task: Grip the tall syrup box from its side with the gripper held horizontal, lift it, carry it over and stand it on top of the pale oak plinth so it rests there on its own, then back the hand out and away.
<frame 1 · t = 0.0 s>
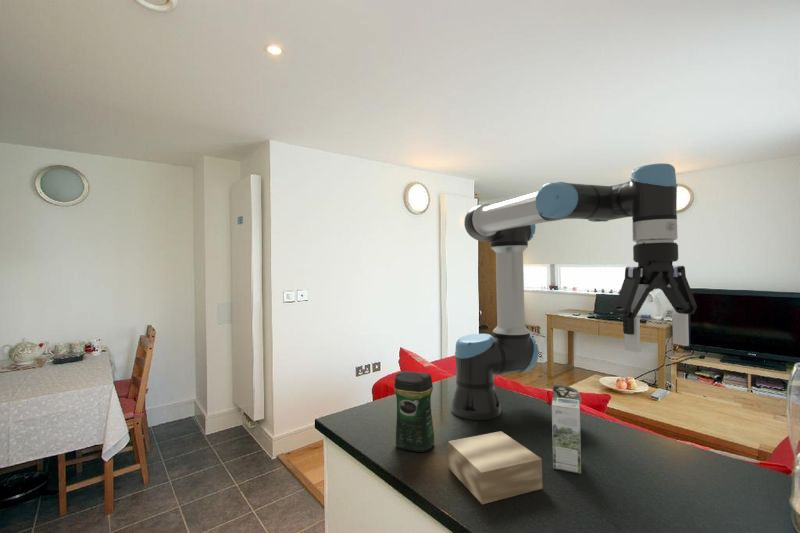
hand: (657, 347, 76), 28 cm above the kitchen island, tool pointing down, fingers open, 13 cm apart
food container: (569, 427, 105), on the kitchen island
syrup box: (567, 466, 84), on the kitchen island
oak plinth: (493, 477, 80), on the kitchen island
coffee jar: (415, 446, 96), on the kitchen island
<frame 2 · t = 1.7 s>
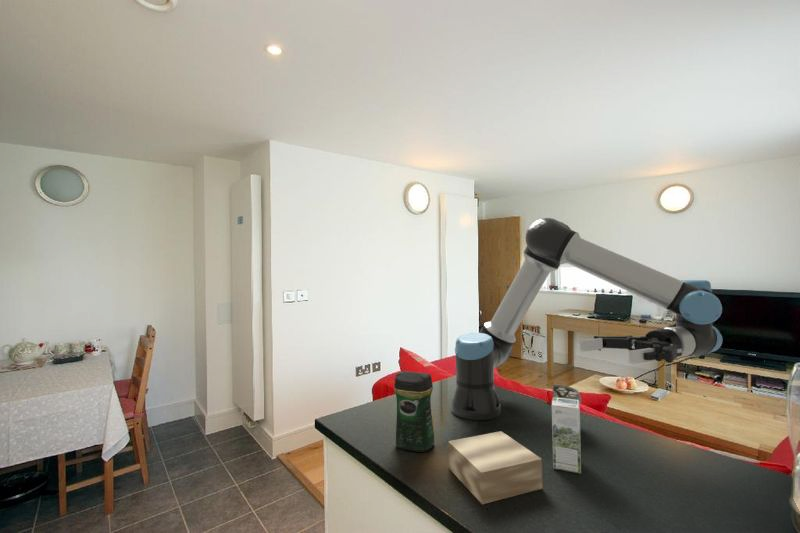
hand: (604, 351, 88), 25 cm above the kitchen island, tool horizontal, fingers open, 13 cm apart
nothing on the kitchen island moved.
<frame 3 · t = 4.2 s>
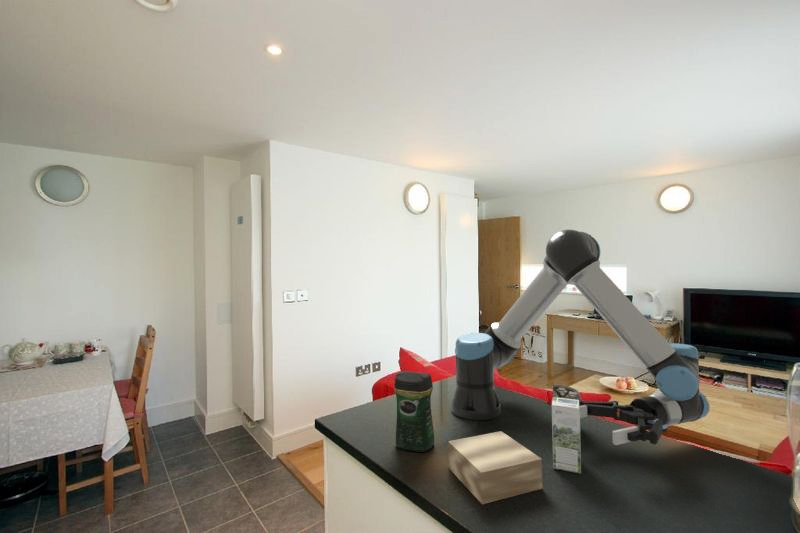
hand: (587, 425, 86), 8 cm above the kitchen island, tool horizontal, fingers open, 13 cm apart
nothing on the kitchen island moved.
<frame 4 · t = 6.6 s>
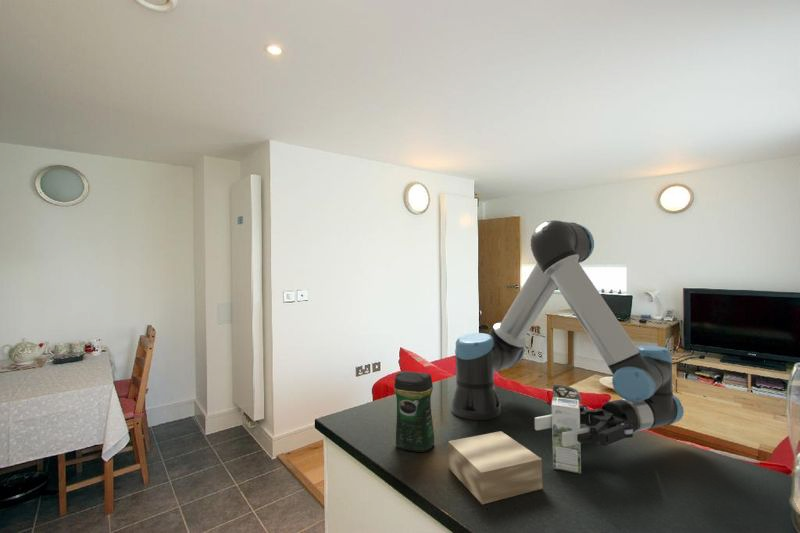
hand: (548, 431, 83), 9 cm above the kitchen island, tool horizontal, fingers closed on syrup box, 8 cm apart
syrup box: (567, 466, 84), on the kitchen island, touching gripper
everything else where it was.
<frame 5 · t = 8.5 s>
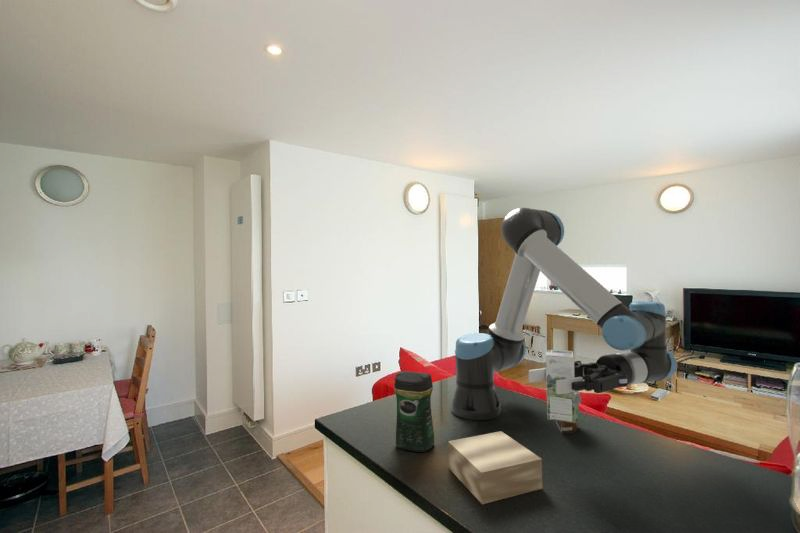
hand: (543, 381, 82), 20 cm above the kitchen island, tool horizontal, fingers closed on syrup box, 8 cm apart
syrup box: (561, 418, 83), point 11 cm above the kitchen island, touching gripper
everything else where it was.
when the fingers open (16 cm above the kitchen island, at t = 10.8 s): syrup box drops 1 cm, resting on oak plinth.
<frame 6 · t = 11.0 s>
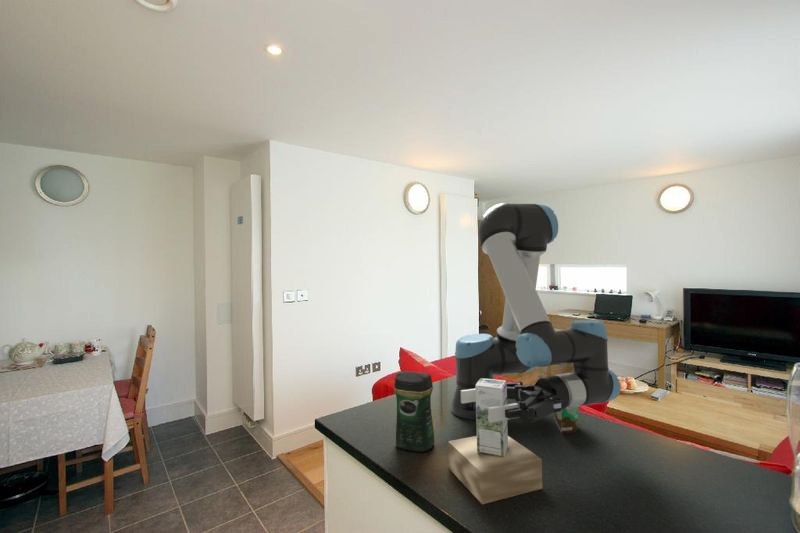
hand: (474, 405, 79), 16 cm above the kitchen island, tool horizontal, fingers open, 10 cm apart
syrup box: (492, 450, 80), point 6 cm above the kitchen island, touching oak plinth
everything else where it was.
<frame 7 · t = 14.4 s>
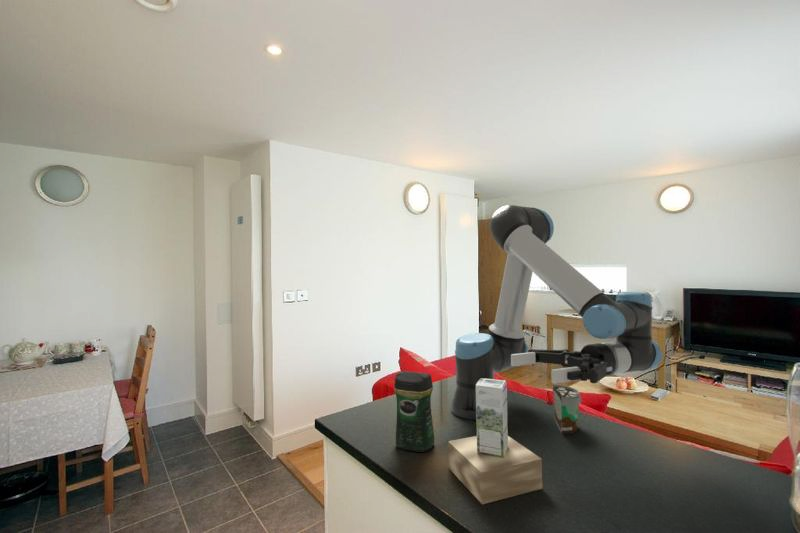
hand: (530, 367, 83), 23 cm above the kitchen island, tool horizontal, fingers open, 13 cm apart
nothing on the kitchen island moved.
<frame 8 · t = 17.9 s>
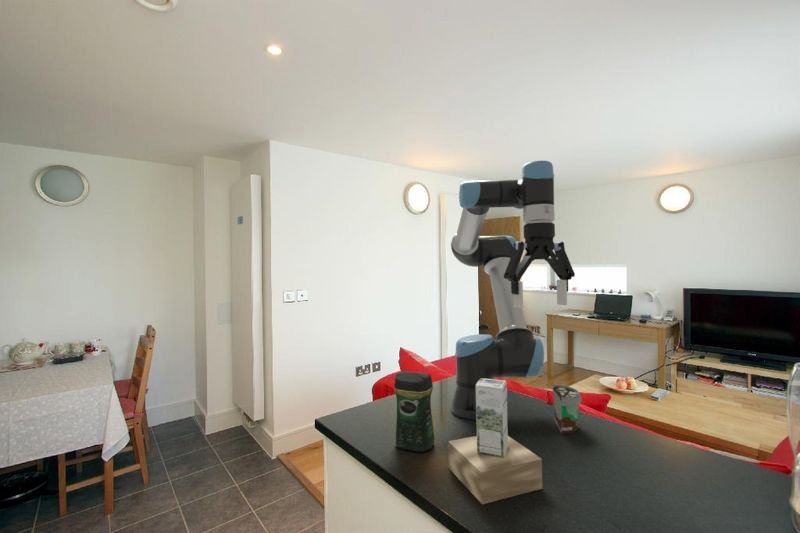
hand: (540, 306, 96), 35 cm above the kitchen island, tool pointing down, fingers open, 13 cm apart
nothing on the kitchen island moved.
at the end: syrup box inside the target area on the oak plinth (0.2 cm from its centre), point 5.8 cm above the oak plinth's base; syrup box tilted 0°; the gripper is holding nothing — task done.
